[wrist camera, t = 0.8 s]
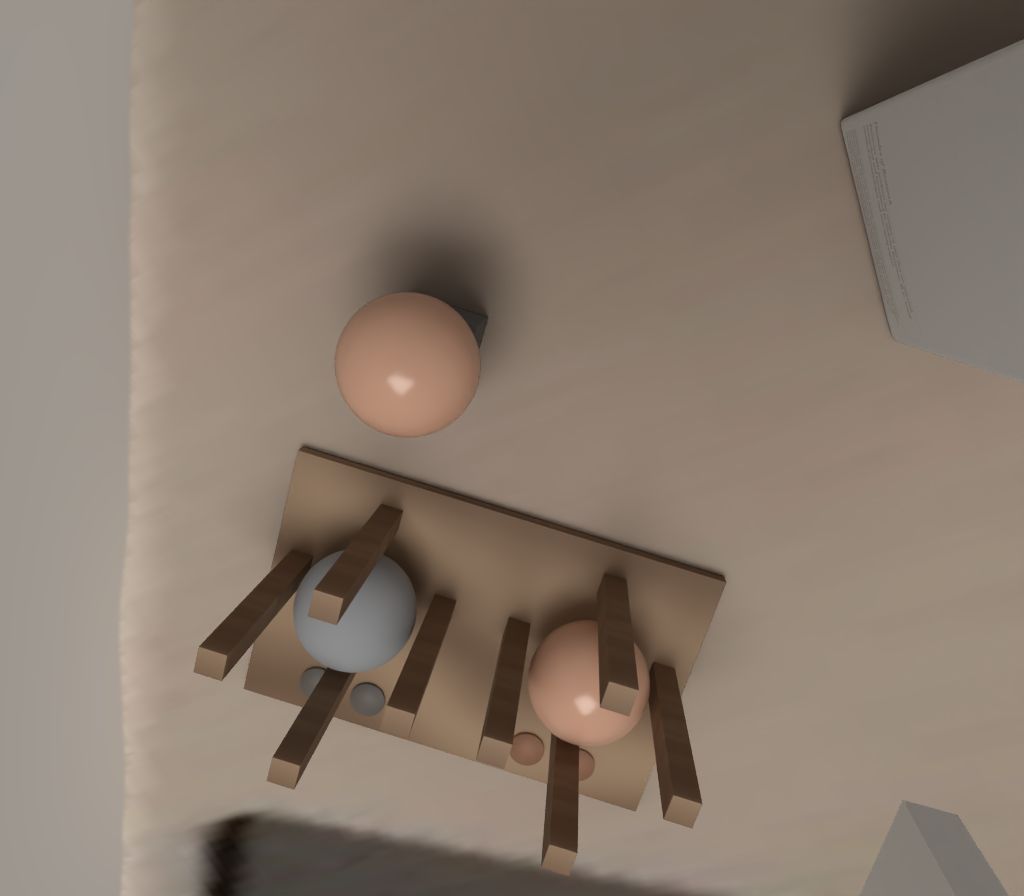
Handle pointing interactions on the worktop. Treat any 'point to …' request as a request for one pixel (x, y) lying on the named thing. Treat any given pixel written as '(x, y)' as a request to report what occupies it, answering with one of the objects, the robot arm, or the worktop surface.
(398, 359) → the ball loose
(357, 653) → the ball
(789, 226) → the worktop surface
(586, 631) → the ball
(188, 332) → the worktop surface
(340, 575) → the rack
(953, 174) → the supplement box
